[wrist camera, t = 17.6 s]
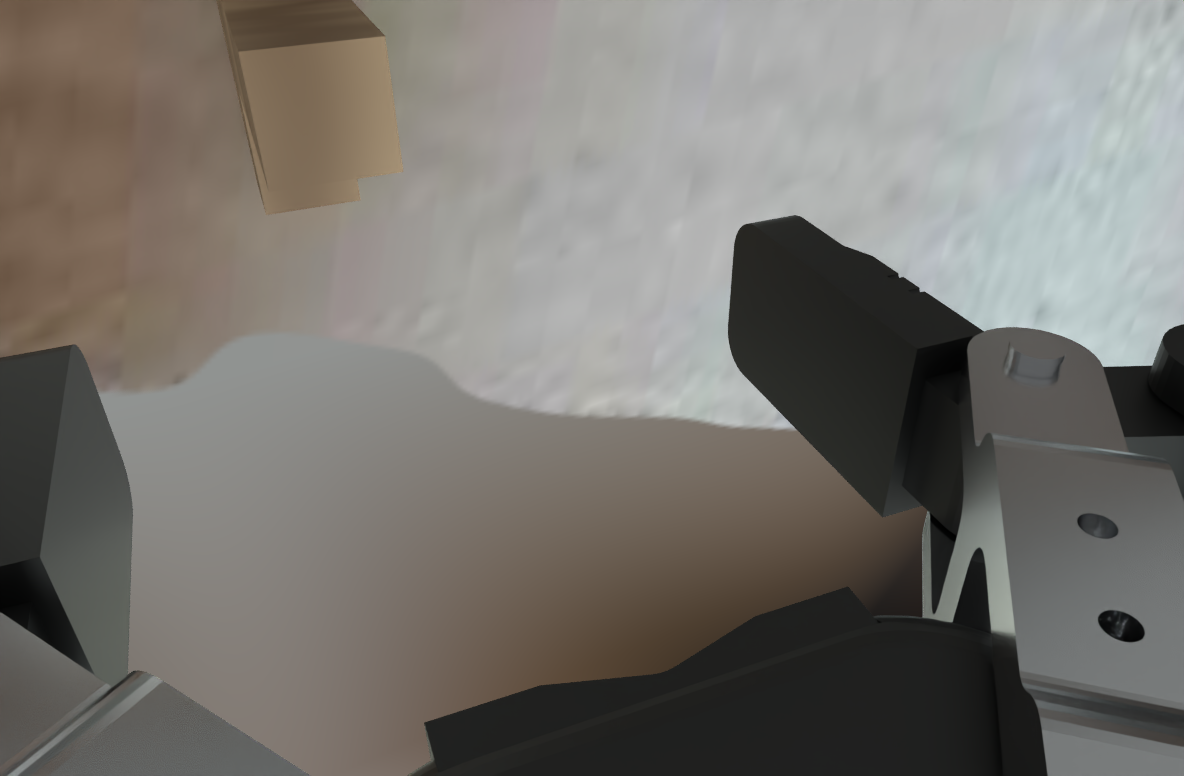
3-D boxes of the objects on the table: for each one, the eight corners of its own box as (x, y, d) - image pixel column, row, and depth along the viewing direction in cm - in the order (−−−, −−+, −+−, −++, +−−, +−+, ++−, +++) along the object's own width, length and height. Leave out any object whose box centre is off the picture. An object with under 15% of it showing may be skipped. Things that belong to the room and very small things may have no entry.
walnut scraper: (283, -196, 27) (355, -185, 18) (345, 170, 33) (423, 323, 24) (173, -193, 26) (188, -178, 17) (257, 183, 32) (302, 347, 23)
